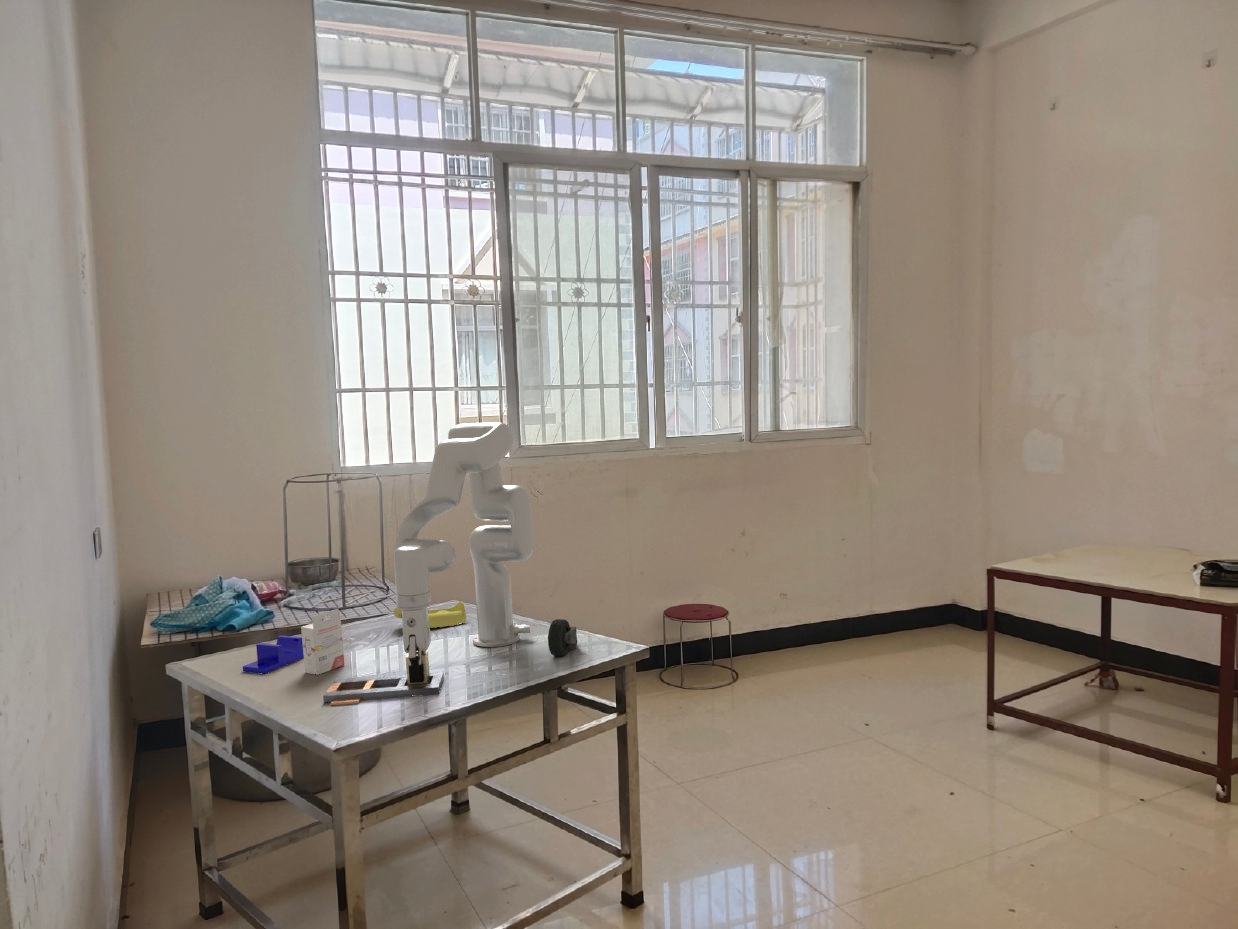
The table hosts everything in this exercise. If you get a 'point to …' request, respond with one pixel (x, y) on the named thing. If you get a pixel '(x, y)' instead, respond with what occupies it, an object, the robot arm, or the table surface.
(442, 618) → the plastic component
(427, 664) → the brass block
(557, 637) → the caster wheel
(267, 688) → the table surface
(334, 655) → the ink cartridge box
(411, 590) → the robot arm
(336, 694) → the rail frame
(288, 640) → the mounting bracket
